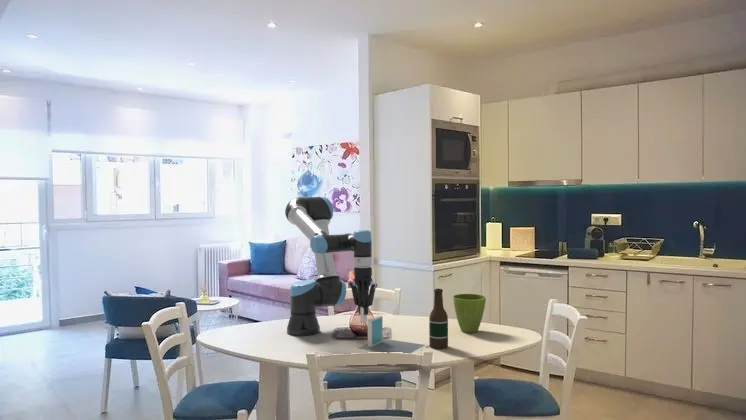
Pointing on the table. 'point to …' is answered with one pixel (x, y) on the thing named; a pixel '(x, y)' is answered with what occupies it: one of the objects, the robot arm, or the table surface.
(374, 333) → the tile
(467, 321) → the flower pot
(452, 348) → the table surface
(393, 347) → the mat
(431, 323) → the beer bottle
